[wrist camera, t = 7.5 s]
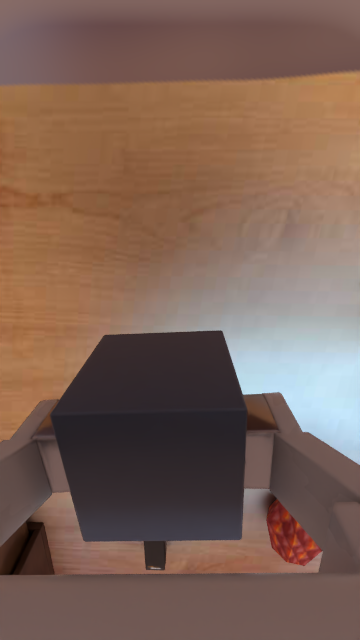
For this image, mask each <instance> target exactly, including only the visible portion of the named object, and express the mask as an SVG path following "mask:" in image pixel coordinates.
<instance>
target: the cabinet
mask: <svg viewBox="0 0 360 640" xmlns="http://www.w3.org/2000/svg"><path fill="white" fill-rule="evenodd" d="M26 524H27V528H28V532H29V536H30V540H29V542H28V544H27V546H26V548H25V550H24V552H23V554H22V556H21V559H20V561H19V563H18V565H17V567H16V569H15V571H14V573H13V575H54V570H53V565H52V561H51V556H50V551H49V547H48V542H47V537H46V533H45V528H44V524H43V523H29V522H26Z"/></svg>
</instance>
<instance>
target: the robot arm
mask: <svg viewBox="0 0 360 640" xmlns="http://www.w3.org/2000/svg"><path fill="white" fill-rule="evenodd" d="M243 397H244V400H245V403H246V406H247V431H246V453H245V476H244V488H252V489H270V491H271V492H272V494H273V495H274V496H275V497H276V498H277V499H278V500H279V502H280V503H281V504H282V505H283V506H284V507H285V508H286V510H287V511H288V512H289V513H290V514H291V515H292V516H293V518H294V519H295V520H296V521H297V522H298V523H299V524H300V526H301V527H302V528H303V529H304V530H305V531H306V532H307V534H308V535H309V536H310V537H311V538H312V539H313V540H314V542H315V543H316V544H317V545H318V546H319V547H320V548H321V550H322V551H323V554H322V558H321V563H320V568H319V572H318V573H227V574H100V575H0V640H360V465H358V464H357V463H355V462H354V461H352V460H351V459H349V458H348V457H346V456H344V455H343V454H341V453H340V452H338V451H337V450H335V449H334V448H332V447H330V446H329V445H327V444H326V443H324V442H323V441H321V440H320V439H318V438H316V437H315V436H313V435H312V434H310V433H309V432H302V430H301V428H300V426H299V424H298V423H297V421H296V419H295V417H294V415H293V414H292V412H291V410H290V408H289V406H288V405H287V403H286V401H285V399H284V397H283V396H282V394H281V393H279V392H277V393H262V394H248V395H243ZM58 401H59V399H55V400H43V401H40V402H39V404H38V405H37V406H36V407H35V409H34V410H33V411H32V412H31V414H30V415H29V416H28V417H27V419H26V420H25V421H24V422H23V424H22V425H21V426H20V427H19V429H18V430H17V431H16V432H15V434H14V435H13V436H12V438H11V439H10V440H3V441H2V442H0V547H1V546H2V545H3V544H4V543H5V542H6V541H7V540H8V539H9V537H10V536H11V535H12V534H13V533H14V532H15V531H16V530H17V529H18V528H19V527H20V526H21V525H22V524H23V523H24V522H25V521H26V520H27V519H28V518H29V517H30V516H31V515H32V514H33V513H34V512H35V511H36V510H37V509H38V508H39V507H40V506H41V505H42V504H43V503H44V502H45V501H46V500H47V499H48V498H49V497H50V496H51V495H52V493H56V492H70V489H69V485H68V481H67V478H66V474H65V470H64V466H63V463H62V459H61V455H60V452H59V448H58V444H57V441H56V437H55V433H54V429H53V426H52V422H51V418H50V413H51V412H52V410H53V409H54V407H55V406H56V404H57V403H58Z"/></svg>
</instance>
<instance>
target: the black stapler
mask: <svg viewBox="0 0 360 640" xmlns="http://www.w3.org/2000/svg"><path fill="white" fill-rule="evenodd" d="M144 550H145V564H146V570H165V564H166V541H144Z"/></svg>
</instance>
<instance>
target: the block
mask: <svg viewBox="0 0 360 640" xmlns="http://www.w3.org/2000/svg"><path fill="white" fill-rule="evenodd" d="M50 418H51V422H52V426H53V429H54V433H55V437H56V441H57V444H58V448H59V452H60V455H61V459H62V463H63V466H64V470H65V474H66V478H67V481H68V485H69V489H70V492H71V496H72V500H73V503H74V507H75V511H76V515H77V518H78V522H79V526H80V529H81V533H82V537H83V540H84V541H86V542H89V541H186V540H240V539H241V538H242V520H243V498H244V476H245V453H246V431H247V406H246V403H245V400H244V397H243V394H242V391H241V388H240V384H239V381H238V378H237V375H236V372H235V369H234V366H233V363H232V359H231V356H230V353H229V350H228V347H227V344H226V341H225V338H224V334H223V332H222V331H196V332H170V333H144V334H118V335H104V336H103V338H102V339H101V341H100V342H99V344H98V345H97V346H96V348H95V349H94V351H93V352H92V354H91V355H90V357H89V358H88V359H87V361H86V362H85V364H84V365H83V367H82V368H81V370H80V371H79V372H78V374H77V375H76V377H75V378H74V380H73V381H72V383H71V384H70V385H69V387H68V388H67V390H66V391H65V393H64V394H63V396H62V397H61V399H60V400H59V401H58V403H57V404H56V406H55V407H54V409H53V410H52V412H51V413H50Z"/></svg>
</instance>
